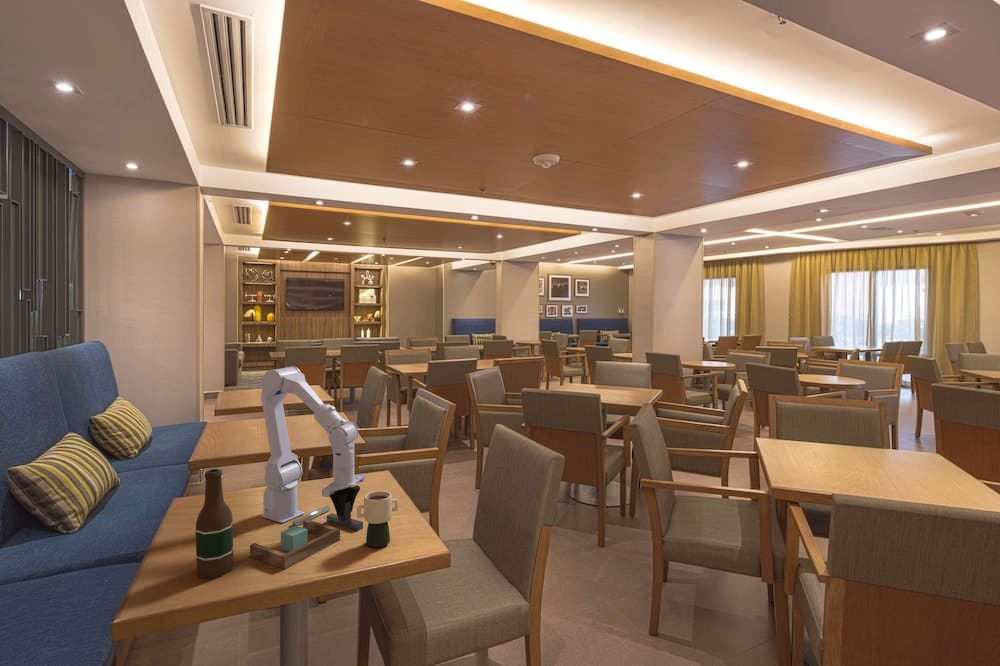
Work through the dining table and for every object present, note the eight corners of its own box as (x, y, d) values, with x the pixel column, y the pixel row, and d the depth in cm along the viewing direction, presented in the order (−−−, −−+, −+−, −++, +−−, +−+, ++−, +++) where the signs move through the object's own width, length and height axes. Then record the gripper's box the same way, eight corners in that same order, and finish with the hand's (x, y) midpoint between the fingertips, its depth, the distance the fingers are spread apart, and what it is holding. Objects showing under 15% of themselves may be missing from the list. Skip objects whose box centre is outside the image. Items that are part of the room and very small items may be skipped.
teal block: (281, 549, 131) (280, 532, 131) (295, 542, 135) (295, 525, 135) (293, 553, 129) (293, 536, 129) (307, 546, 133) (307, 529, 133)
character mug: (394, 534, 140) (393, 487, 139) (402, 544, 134) (402, 496, 133) (353, 542, 135) (353, 494, 134) (360, 554, 129) (360, 503, 128)
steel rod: (297, 527, 144) (297, 520, 144) (292, 526, 145) (292, 519, 145) (329, 512, 155) (329, 505, 155) (325, 511, 156) (324, 504, 156)
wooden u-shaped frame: (250, 556, 127) (249, 544, 127) (306, 529, 142) (306, 519, 142) (285, 569, 121) (284, 557, 121) (340, 540, 136) (339, 529, 136)
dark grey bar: (357, 531, 141) (357, 507, 141) (325, 522, 147) (325, 498, 147) (363, 528, 144) (363, 503, 143) (332, 519, 149) (332, 496, 149)
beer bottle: (209, 562, 124) (207, 465, 123) (240, 563, 124) (238, 465, 123) (188, 579, 116) (186, 475, 115) (222, 580, 116) (220, 476, 115)
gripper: (334, 476, 136) (335, 526, 137) (372, 461, 149) (372, 507, 150) (316, 472, 140) (316, 520, 140) (354, 458, 152) (354, 502, 153)
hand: (344, 513), depth 145 cm, fingers closed on dark grey bar, 2 cm apart
